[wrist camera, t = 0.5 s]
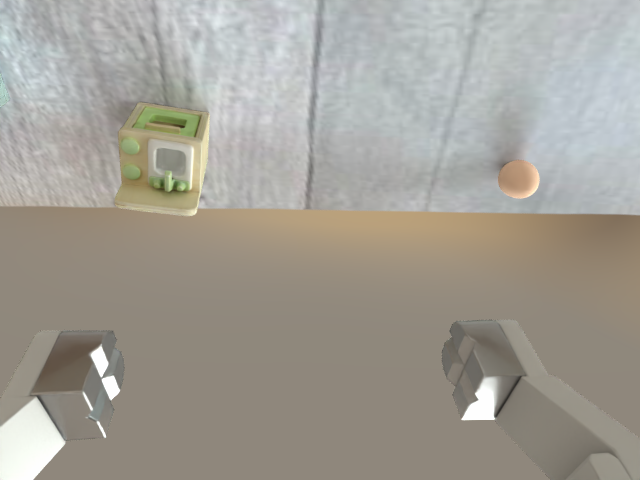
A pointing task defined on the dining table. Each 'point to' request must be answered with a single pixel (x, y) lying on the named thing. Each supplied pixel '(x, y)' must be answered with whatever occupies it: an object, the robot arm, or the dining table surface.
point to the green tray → (3, 93)
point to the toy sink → (163, 159)
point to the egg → (518, 179)
